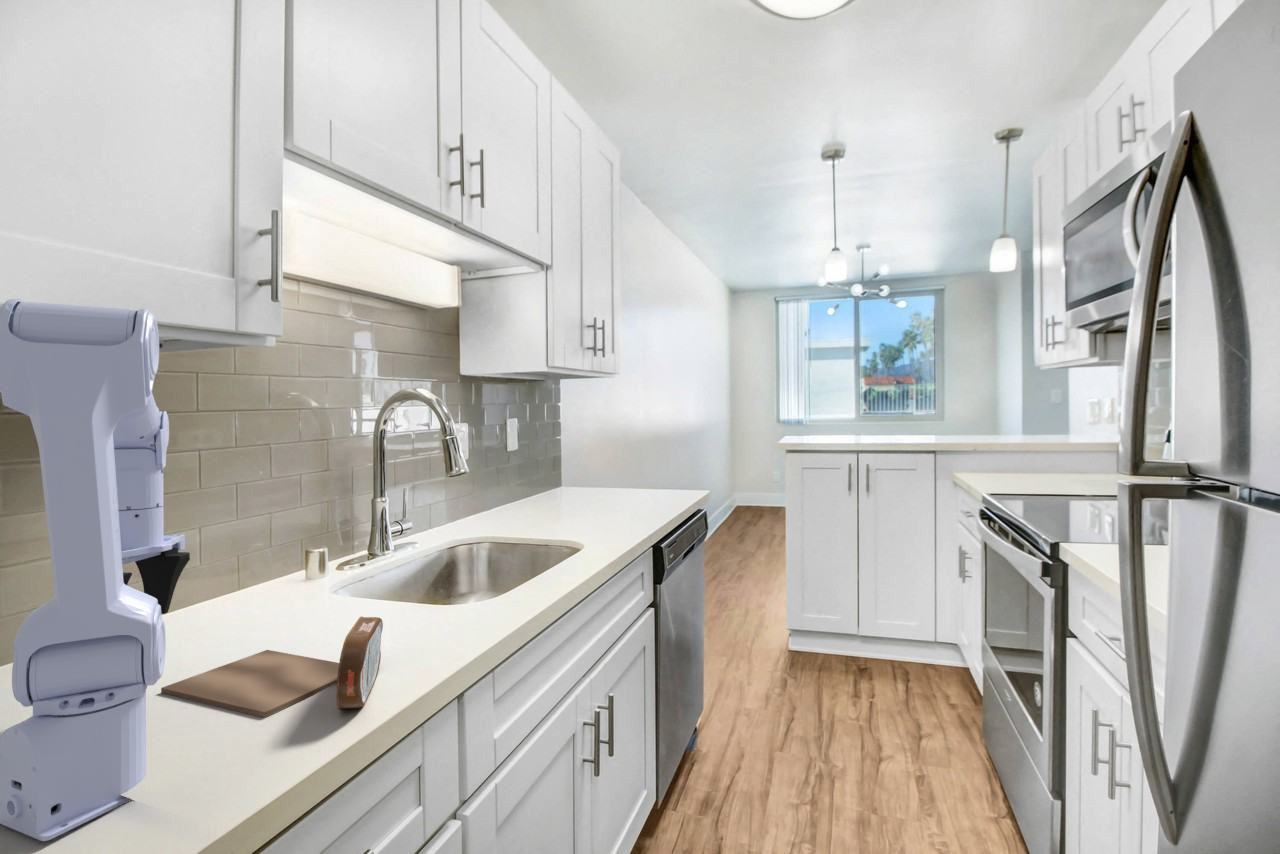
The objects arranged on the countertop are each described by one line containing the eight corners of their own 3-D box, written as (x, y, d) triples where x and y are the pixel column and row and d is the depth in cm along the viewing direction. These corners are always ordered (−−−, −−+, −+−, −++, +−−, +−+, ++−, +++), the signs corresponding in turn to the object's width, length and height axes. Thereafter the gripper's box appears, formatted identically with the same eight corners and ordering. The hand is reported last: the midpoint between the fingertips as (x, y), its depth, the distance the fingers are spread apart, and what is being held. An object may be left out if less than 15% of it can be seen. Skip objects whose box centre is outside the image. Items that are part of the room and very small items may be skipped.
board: (265, 717, 70) (265, 712, 70) (161, 692, 76) (161, 687, 76) (363, 671, 83) (363, 667, 83) (267, 653, 89) (267, 649, 89)
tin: (360, 671, 83) (360, 608, 83) (385, 669, 84) (385, 606, 84) (333, 723, 68) (332, 646, 68) (364, 720, 69) (363, 644, 69)
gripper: (117, 516, 66) (118, 643, 66) (208, 500, 81) (209, 605, 81) (49, 516, 66) (50, 644, 66) (153, 500, 81) (153, 605, 81)
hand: (133, 623), depth 74 cm, fingers open, 7 cm apart
